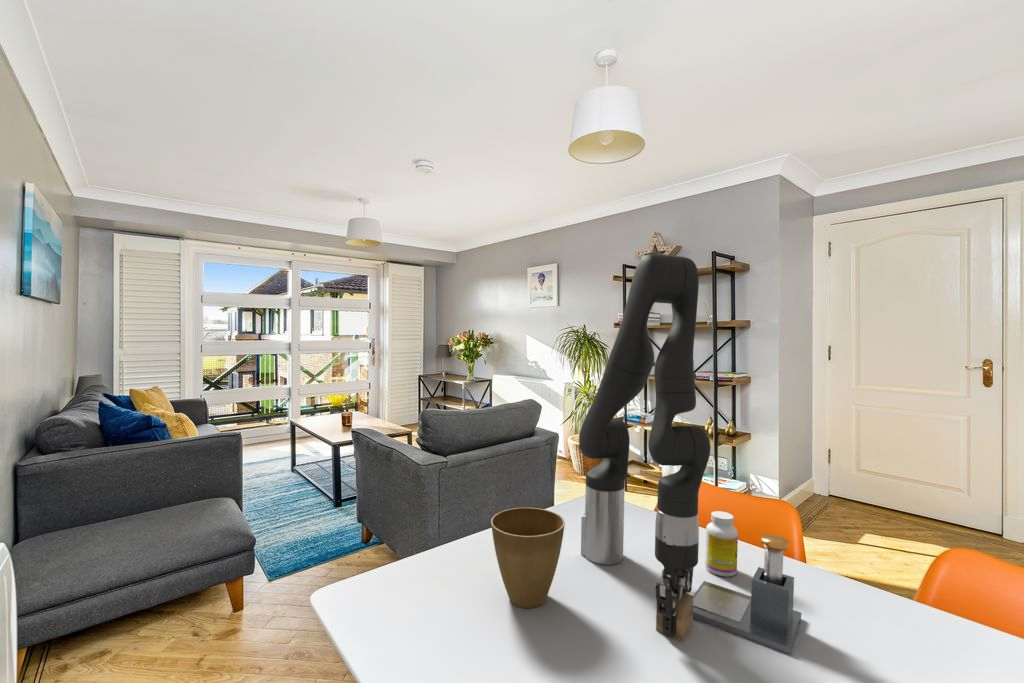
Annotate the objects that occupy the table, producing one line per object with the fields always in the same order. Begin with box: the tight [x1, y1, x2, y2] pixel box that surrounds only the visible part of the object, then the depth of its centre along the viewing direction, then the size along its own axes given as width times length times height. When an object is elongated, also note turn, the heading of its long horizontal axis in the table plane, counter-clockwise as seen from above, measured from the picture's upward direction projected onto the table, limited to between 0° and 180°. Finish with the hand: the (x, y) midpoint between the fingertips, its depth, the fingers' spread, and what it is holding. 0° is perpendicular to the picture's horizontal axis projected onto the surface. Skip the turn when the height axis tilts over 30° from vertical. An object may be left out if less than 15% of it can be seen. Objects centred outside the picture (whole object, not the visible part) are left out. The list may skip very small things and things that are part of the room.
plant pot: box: [490, 507, 566, 609], centre depth 97 cm, size 15×15×16 cm
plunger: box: [760, 534, 789, 586], centre depth 89 cm, size 4×4×11 cm
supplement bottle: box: [704, 510, 739, 578], centre depth 110 cm, size 7×7×13 cm
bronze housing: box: [655, 592, 694, 642], centre depth 88 cm, size 5×5×6 cm
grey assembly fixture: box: [692, 566, 802, 656], centre depth 92 cm, size 18×13×9 cm
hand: (674, 625), depth 88 cm, fingers closed on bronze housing, 5 cm apart
